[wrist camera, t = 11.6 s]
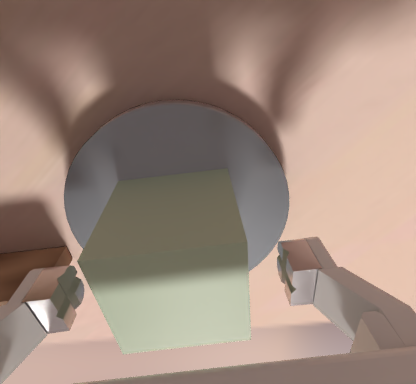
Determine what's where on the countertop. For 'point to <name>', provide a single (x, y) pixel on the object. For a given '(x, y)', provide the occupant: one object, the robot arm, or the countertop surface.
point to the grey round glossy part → (180, 165)
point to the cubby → (27, 267)
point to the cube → (171, 263)
